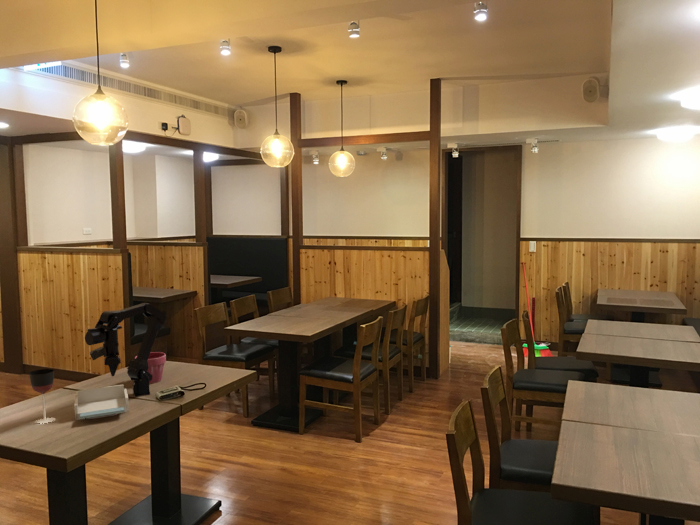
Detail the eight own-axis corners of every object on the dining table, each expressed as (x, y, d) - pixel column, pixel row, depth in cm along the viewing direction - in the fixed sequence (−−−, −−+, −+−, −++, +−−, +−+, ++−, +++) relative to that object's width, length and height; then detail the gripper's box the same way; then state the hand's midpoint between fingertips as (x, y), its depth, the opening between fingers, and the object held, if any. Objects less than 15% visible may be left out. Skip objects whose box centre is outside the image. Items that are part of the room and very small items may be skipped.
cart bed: (126, 401, 245) (125, 384, 244) (129, 411, 232) (128, 392, 232) (76, 409, 236) (74, 390, 236) (75, 420, 224) (74, 400, 223)
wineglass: (40, 417, 228) (36, 369, 226) (61, 417, 227) (58, 368, 226) (28, 424, 220) (24, 374, 218) (50, 424, 220) (46, 374, 218)
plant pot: (134, 386, 267) (132, 360, 266) (138, 378, 281) (136, 353, 280) (165, 383, 270) (164, 357, 269) (168, 375, 284) (166, 350, 283)
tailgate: (123, 406, 231) (124, 409, 224) (123, 410, 231) (124, 413, 224) (80, 413, 224) (80, 416, 218) (80, 417, 224) (80, 420, 217)
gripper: (90, 338, 246) (92, 373, 248) (90, 347, 229) (92, 384, 231) (117, 335, 251) (119, 369, 252) (119, 344, 234) (121, 380, 235)
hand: (112, 376), depth 242 cm, fingers closed
